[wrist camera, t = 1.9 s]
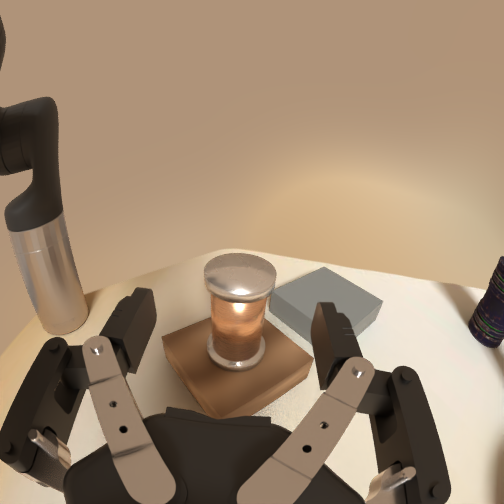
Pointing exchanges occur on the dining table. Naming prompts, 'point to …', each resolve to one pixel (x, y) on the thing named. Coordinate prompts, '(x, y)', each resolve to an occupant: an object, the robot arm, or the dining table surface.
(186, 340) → the walnut stand
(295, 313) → the slate stand
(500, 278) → the dark blue cylinder
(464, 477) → the dining table surface
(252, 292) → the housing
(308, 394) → the dining table surface
